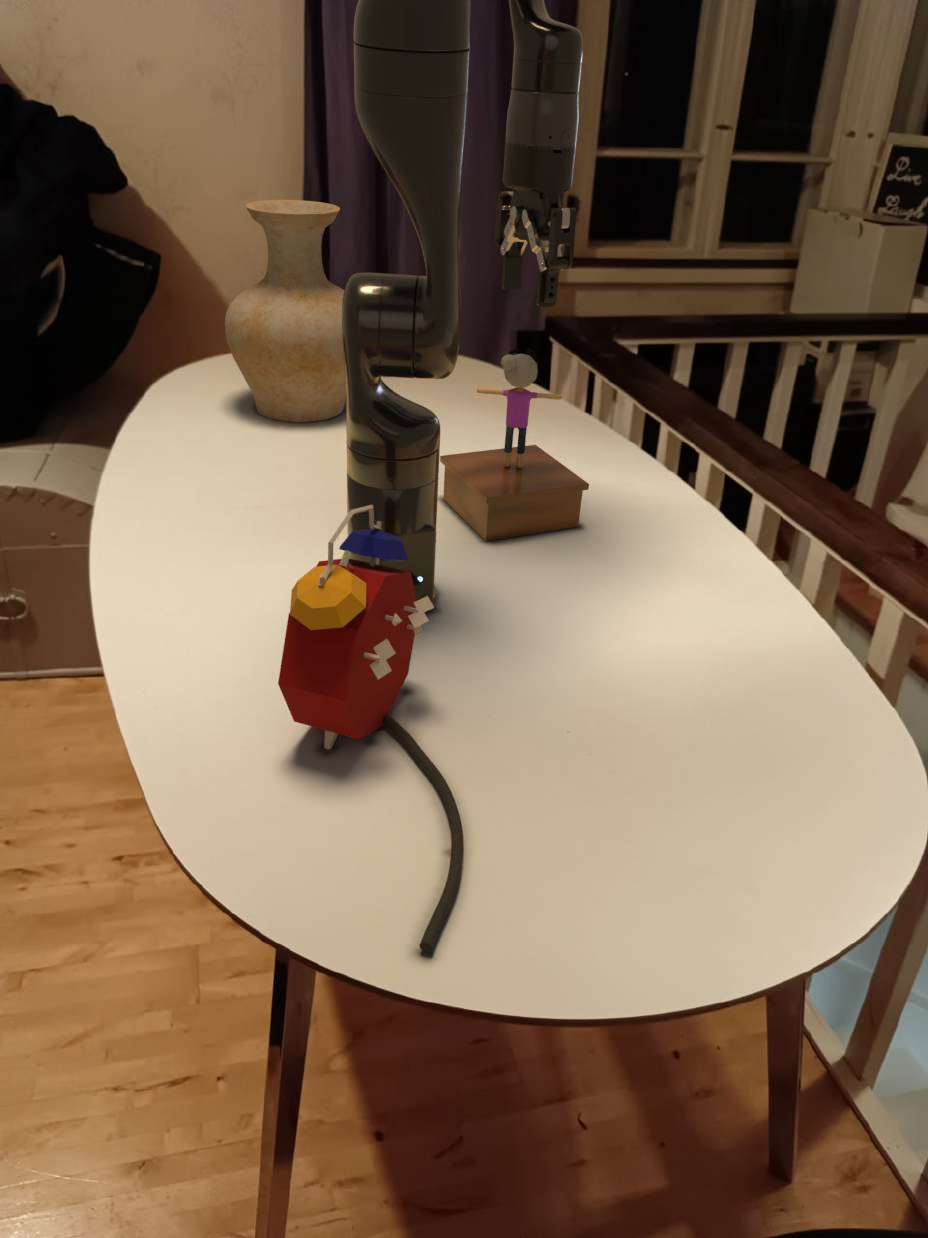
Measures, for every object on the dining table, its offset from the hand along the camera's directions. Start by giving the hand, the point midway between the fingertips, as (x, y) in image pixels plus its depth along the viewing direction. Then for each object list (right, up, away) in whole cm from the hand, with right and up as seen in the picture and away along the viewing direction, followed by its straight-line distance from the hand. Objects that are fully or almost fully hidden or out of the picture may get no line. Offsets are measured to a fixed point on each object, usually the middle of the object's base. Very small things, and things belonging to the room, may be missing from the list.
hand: (527, 297), depth 109 cm
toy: (-1, -18, +11) cm, 21 cm away
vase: (-34, -3, +45) cm, 56 cm away
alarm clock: (-16, -46, -25) cm, 55 cm away
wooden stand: (-2, -23, +14) cm, 27 cm away
